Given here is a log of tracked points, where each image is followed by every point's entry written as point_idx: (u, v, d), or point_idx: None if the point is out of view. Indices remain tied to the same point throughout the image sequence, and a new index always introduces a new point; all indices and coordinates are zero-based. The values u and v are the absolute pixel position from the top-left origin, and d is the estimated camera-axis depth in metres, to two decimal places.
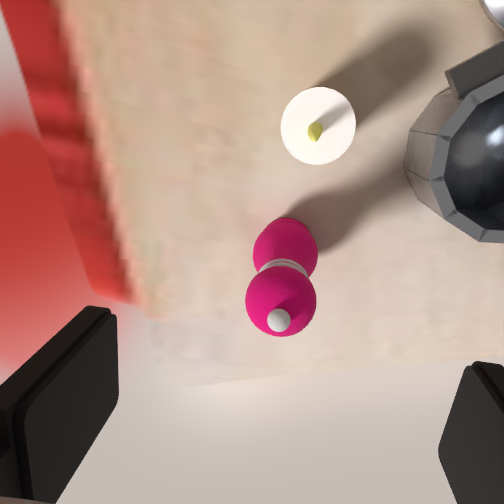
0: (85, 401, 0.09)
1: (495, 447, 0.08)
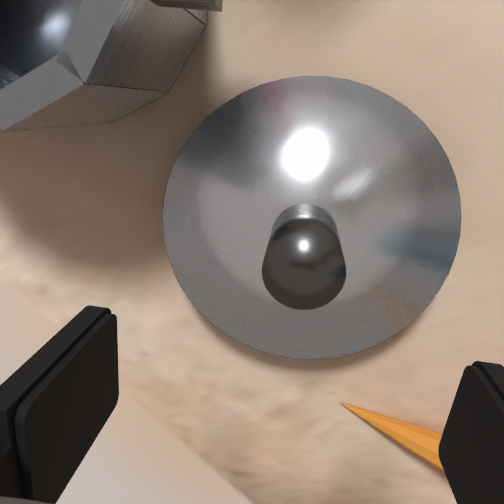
0: (85, 401, 0.09)
1: (495, 447, 0.08)
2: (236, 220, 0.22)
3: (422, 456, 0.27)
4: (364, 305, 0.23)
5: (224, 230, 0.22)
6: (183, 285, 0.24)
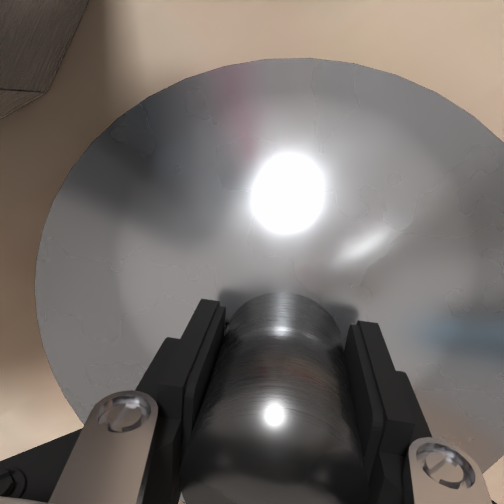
0: None
1: (354, 387, 0.09)
2: (162, 320, 0.12)
3: None
4: None
5: (143, 336, 0.13)
6: (85, 420, 0.14)
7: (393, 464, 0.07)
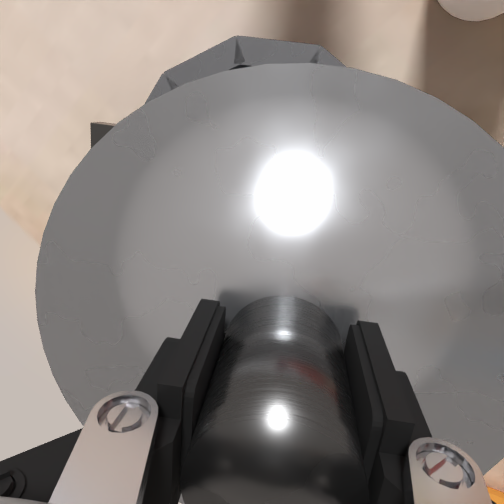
0: None
1: (354, 387, 0.09)
2: (162, 323, 0.12)
3: None
4: None
5: (143, 339, 0.13)
6: None
7: (393, 463, 0.07)
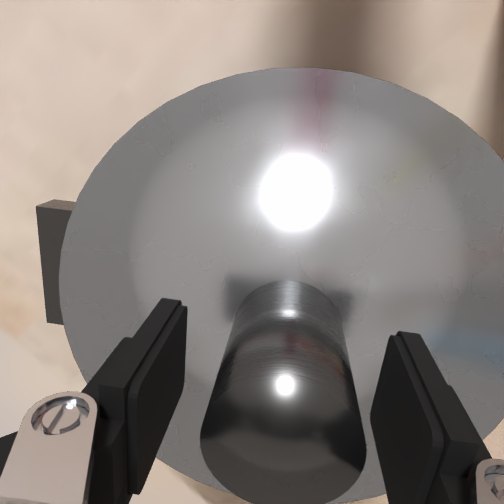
0: (167, 385, 0.10)
1: (402, 402, 0.09)
2: None
3: None
4: None
5: None
6: None
7: (456, 485, 0.07)
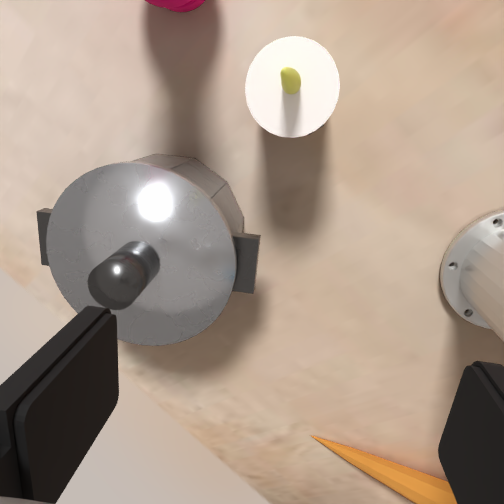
0: (85, 401, 0.09)
1: (495, 447, 0.08)
2: (94, 252, 0.33)
3: (355, 465, 0.48)
4: (185, 306, 0.33)
5: (87, 259, 0.33)
6: (66, 297, 0.35)
7: None
